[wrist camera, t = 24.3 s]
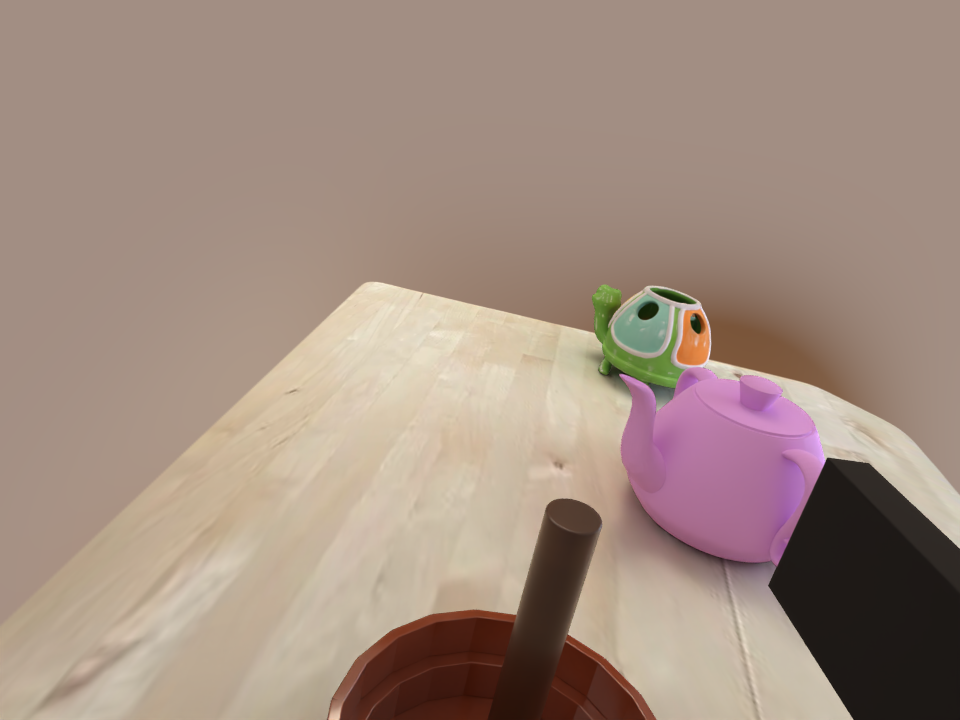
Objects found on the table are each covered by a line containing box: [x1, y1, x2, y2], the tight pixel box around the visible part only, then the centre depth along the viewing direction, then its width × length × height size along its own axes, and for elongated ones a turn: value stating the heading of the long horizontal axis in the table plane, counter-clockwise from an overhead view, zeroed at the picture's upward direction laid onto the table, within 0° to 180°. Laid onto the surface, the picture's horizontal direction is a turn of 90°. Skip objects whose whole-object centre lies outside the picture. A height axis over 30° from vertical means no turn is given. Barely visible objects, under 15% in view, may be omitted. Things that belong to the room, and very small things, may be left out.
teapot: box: [619, 367, 825, 566], centre depth 60 cm, size 22×22×14 cm
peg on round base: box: [488, 499, 602, 720], centre depth 30 cm, size 6×6×18 cm
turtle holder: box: [592, 285, 711, 388], centre depth 90 cm, size 12×18×12 cm
